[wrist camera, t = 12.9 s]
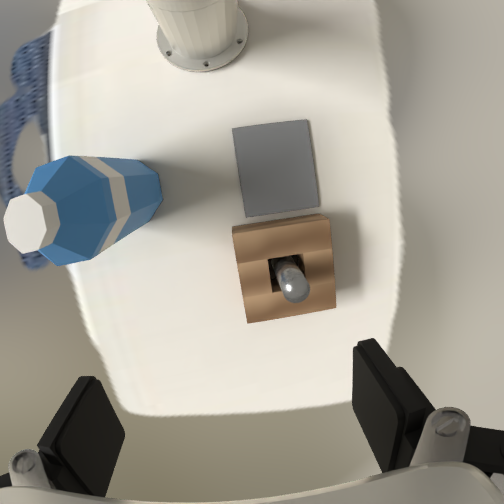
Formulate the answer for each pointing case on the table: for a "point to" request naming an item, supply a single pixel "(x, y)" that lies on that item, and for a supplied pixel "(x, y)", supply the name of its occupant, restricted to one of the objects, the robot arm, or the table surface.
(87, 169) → the water bottle
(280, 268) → the peg
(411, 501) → the robot arm
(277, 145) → the mat
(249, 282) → the socket block
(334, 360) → the table surface
